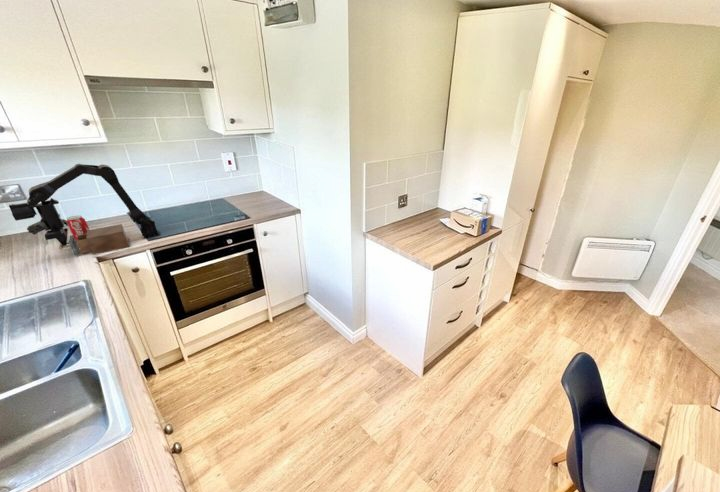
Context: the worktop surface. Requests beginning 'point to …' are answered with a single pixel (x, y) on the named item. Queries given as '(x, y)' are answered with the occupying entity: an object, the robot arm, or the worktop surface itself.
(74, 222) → the soda can
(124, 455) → the worktop surface
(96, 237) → the cabinet
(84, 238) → the drawer
